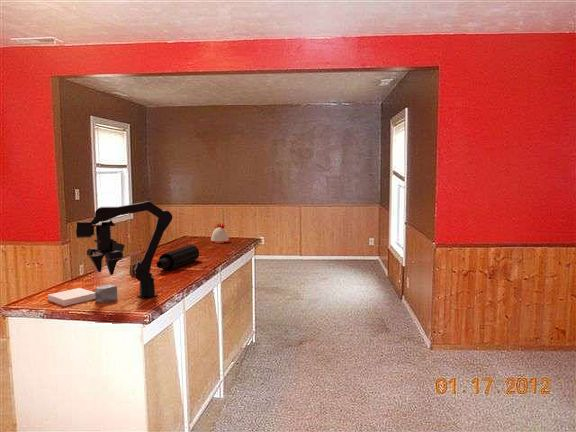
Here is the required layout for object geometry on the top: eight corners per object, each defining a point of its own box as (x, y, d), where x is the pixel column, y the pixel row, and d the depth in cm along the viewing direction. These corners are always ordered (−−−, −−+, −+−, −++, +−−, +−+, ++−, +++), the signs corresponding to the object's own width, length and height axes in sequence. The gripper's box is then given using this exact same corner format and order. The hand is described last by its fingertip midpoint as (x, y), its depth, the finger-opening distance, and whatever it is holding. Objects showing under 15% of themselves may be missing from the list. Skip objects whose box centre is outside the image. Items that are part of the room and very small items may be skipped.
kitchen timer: (225, 243, 342) (225, 224, 341) (208, 243, 345) (208, 223, 343) (231, 241, 356) (230, 222, 355) (214, 240, 359) (214, 222, 357)
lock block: (117, 299, 192) (116, 285, 192) (102, 303, 187) (101, 289, 186) (110, 297, 195) (110, 284, 195) (95, 301, 190) (95, 287, 189)
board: (96, 298, 194) (96, 292, 194) (64, 306, 183) (64, 300, 183) (80, 293, 202) (79, 287, 202) (48, 300, 191) (47, 294, 191)
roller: (169, 271, 240) (164, 253, 240) (154, 275, 243) (149, 258, 243) (202, 258, 276) (197, 242, 276) (188, 262, 279) (183, 247, 279)
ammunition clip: (140, 270, 249) (139, 249, 248) (143, 270, 249) (142, 249, 248) (129, 275, 239) (128, 252, 237) (133, 275, 238) (132, 252, 237)
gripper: (133, 236, 189) (135, 272, 191) (109, 233, 200) (110, 267, 202) (109, 239, 180) (111, 277, 182) (85, 235, 192) (87, 271, 193)
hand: (105, 273), depth 190 cm, fingers open, 9 cm apart
